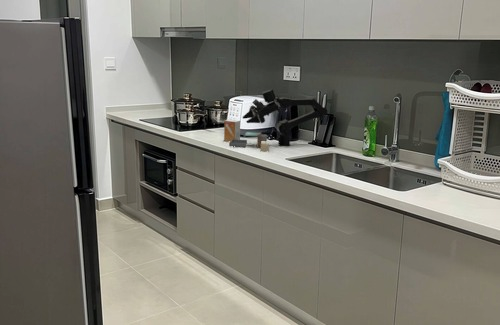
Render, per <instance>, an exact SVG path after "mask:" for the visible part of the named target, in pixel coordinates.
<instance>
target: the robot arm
mask: <svg viewBox="0 0 500 325" xmlns="http://www.w3.org/2000/svg"><path fill="white" fill-rule="evenodd" d="M261 94H262V97H263V100H264V102H265V103H267V104H264V103H263V101H259V100H258V99H257V98H255V99H254V100H253V101H252V102H251V103H252V105H251V106H249V110H248V111H247V112H246V113H245V114H244V115H243V116H242V119H248V120H246V121H245V122H246V123H247V124H264V123H265V122H266V118H265V117H266V116H267V117H269V116H270V114H272V113H274V112H275V113H277V114H280V112H281V111H282V109H281V108H283V109H284V108H290V107H293V106H296V107H297V106H311V108H312V110H311V111H310V112H308V113H305V114H303V115H300V116H298V117H296V118H293V119H291V120H287V119H286V118H285V119H283V120H279V121H278V123H277V124H276V126H275V128H276V131H278V133H279V136H278V140H277V141H278V142H277V143H278V145H279V146H284V147H285V146H287V147H290V146H291V141H290V140H291V135H292V131H291V130H292V129H293V128H295V127H297V126H299V125H302V124H304V123H306V122H308V121H311V120H313V119H320V118H321V117H320V116H321V115H322V114H327V115H328V109H327V108H326V107H324V106H322V105H321V104H320V103H319V102H318V101H317V100H316V99H315V98H312V97H311V98H289V97H276V96H275V95H276V94H275V93H274V89H268V90H264V91H262V93H261ZM279 107H280V108H279Z"/></svg>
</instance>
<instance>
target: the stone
mask: <svg viewBox="0 0 500 325" xmlns="http://www.w3.org/2000/svg"><path fill="white" fill-rule="evenodd" d="M261 151H270V142H261V148H260V152H261Z"/></svg>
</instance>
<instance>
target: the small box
mask: <svg viewBox="0 0 500 325" xmlns="http://www.w3.org/2000/svg"><path fill="white" fill-rule="evenodd" d="M223 124H224V126H223V127H224V128H223V129H224V130H223V131H224V132H223V134H224V136H223V141H224V142H229V141H231V140H232V139H235V140H241V120H237V119H226V120H225V119H224V123H223Z"/></svg>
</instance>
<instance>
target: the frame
mask: <svg viewBox="0 0 500 325" xmlns="http://www.w3.org/2000/svg"><path fill="white" fill-rule="evenodd" d="M258 133H261V134H263V132H262V131H258ZM260 136H261V135H258V136H257V138H256V139H257V142H256V143H257V144H256V149H261V143H262V141H260Z"/></svg>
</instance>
